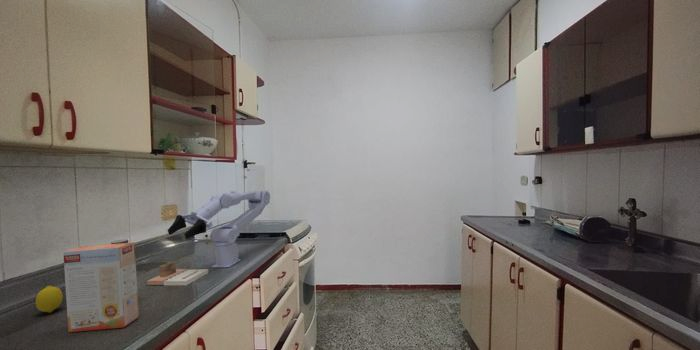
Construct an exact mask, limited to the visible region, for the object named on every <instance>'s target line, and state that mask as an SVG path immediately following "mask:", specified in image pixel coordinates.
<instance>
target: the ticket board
mask: <svg viewBox="0 0 700 350" xmlns="http://www.w3.org/2000/svg"><path fill="white" fill-rule="evenodd" d="M208 274H209V269H207V268H205V269H201V268H200V269H199V268H198V269H195V268H194V269H187V270H186V271H184V272H182V273H179V274H177V275H175V276H173V277H171V278H169V279H167V280H165V281H164V285H163V286H188V285H189V284H191V283H193V282H195V281H197V280H198V279H200V278H203V277H204V276H205V275H208Z"/></svg>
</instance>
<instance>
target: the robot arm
mask: <svg viewBox="0 0 700 350" xmlns="http://www.w3.org/2000/svg"><path fill="white" fill-rule="evenodd" d="M246 200H247V202H248V203H247V204H248V205H247V206H248V208H249V209H248V210H246V211H245V212H243V213H242V214H240V215H239V216H238V217H236V218H235V219H233V220H232V221H231V222H230V223H228V224H224V225H221V226H220V227H217V228H216V227H215V228H214V229H212V230H211V231H210V234H209V239H210V241H211V242H212V243H213V245H214V251H215V253H214V255H215V264H213V265H211V268H230V267H231V266H233V265H235V264H237V263H238V262H240V261H241V259H240V258H239V247H238V244H237V243H236V242H235V241H237V238H238V237H240V235H241V234H240V231H241V230H242V229H244V228H245V227H246V226H247V225H249V224H250V223H251V222H253V221H254V220H255V219H257V218H258V217H259V216H260V215H261V214H262V213H263V210H265V208H266V206H267V205H269V204H270V200H271V194H270V192H269V191H268V190H250V191H244V192H241V193H239V192H237V191H235V190H232V191H230V193H227V192H223V193H222V194H221V195H220V194H219V195H218V194H216V195H213V196H211V198H210V200H209V201H208V202H207V203H205V204H204V205H202V206H201V207H199V208H198V209H197V210H195V211H194V210H192V211H191V212H190V213H187V214H177V215H176V217H175V219H174V221H173V222H172V224H171V225H170V227H169V228H167V232H168V233H167V234H168V235H172V234H175V233H176V232H178V231H180V230H182V229H185V228H187V224H186V223H188V224H189V225H191V227H190V228H189V229H188V230H187V231H186V232H185V233H184V237H185V239H186V240H188V239H190V238H192V237H195V236H197V235H200V234H204V233H207V229H210V228H212V227H213V222H212V221H211V220H210V219H212V218H213V217H214V216H216V215H217V214H218V213H219V212H221V211H222V210H223V209H224V210H225V209H229V208H230V207H232V206H233V207H234V206H237V205H239V204H241V202H242V201H246Z"/></svg>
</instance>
